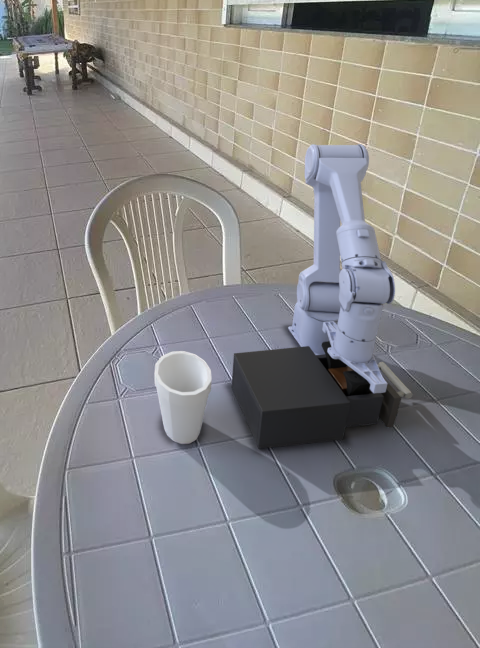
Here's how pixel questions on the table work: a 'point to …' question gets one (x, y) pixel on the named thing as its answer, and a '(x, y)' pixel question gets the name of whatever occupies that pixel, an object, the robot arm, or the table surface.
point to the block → (340, 377)
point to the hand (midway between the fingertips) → (344, 389)
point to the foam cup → (182, 394)
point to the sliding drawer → (375, 401)
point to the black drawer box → (288, 397)
